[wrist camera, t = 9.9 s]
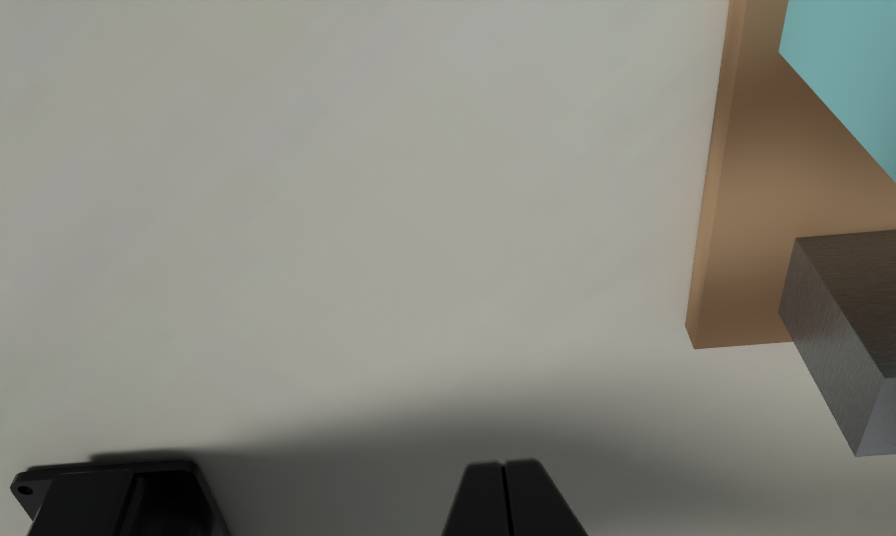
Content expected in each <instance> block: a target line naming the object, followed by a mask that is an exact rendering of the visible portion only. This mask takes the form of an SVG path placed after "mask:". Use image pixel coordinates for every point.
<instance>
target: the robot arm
mask: <svg viewBox="0 0 896 536" xmlns="http://www.w3.org/2000/svg"><path fill="white" fill-rule="evenodd" d="M10 489H11V492H12V493H13V495H14V496H15V497H16V499H17V500H18V501H19V503H20V504H21V506H22V507H23V508H24V510H25V511H26V512H27V514H28V515H29V517H30V518H31V519H32V521H33V522H32V525H31V527H30V529H29V531H28V533H27V535H26V536H230V533H229V531H228V529H227V527H226V525H225V523H224V521H223V518H222V516H221V514H220V512H219V510H218V508H217V505H216V503H215V501H214V499H213V497H212V495H211V492H210V490H209V488H208V486H207V484H206V482H205V479H204V477H203V475H202V473H201V471H200V469H199V467H198V466H197V465H196V464H194V463H193V462H190V461H184V460H178V461H165V462H151V463H138V464H125V465H111V466H98V467H84V468H71V469H57V470H44V471H31V472H22V473H18V474H17V475H16V476H15V478H14V480H13V482H12V484H11V487H10ZM441 536H588V534H587V533H586V531H585V530H584V528H583V527H582V525H581V524H580V522H579V521H578V519H577V517H576V516H575V514H574V513H573V511H572V510H571V508H570V507H569V505H568V504H567V502H566V501H565V499H564V497H563V496H562V494H561V493H560V491H559V490H558V488H557V487H556V485H555V484H554V482H553V481H552V479H551V477H550V476H549V474H548V473H547V471H546V470H545V468H544V467H543V465H542V464H541V463H540V461H539V460H538V459H536V458H533V457H529V458H515V459H507V460H505V461H504V463H503V467H502V464H501V463H500V462H499V461H497V460H488V461H474V462H470V463H468V464H467V466H466V467H465V469H464V472H463V475H462V477H461V480H460V483H459V486H458V489H457V492H456V494H455V497H454V500H453V503H452V506H451V508H450V511H449V514H448V517H447V520H446V523H445V525H444V528H443V531H442V534H441Z"/></svg>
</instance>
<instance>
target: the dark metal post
mask: <svg viewBox="0 0 896 536" xmlns="http://www.w3.org/2000/svg"><path fill="white" fill-rule="evenodd" d="M778 314H779V316H780V318H781V319H782V321H783V323H784V325H785V327H786V329H787V331H788V332H789V334H790V336H791V338H792V340H793V342H794V344H795V346H796V347H797V349H798V351H799V353H800V355H801V357H802V359H803V360H804V362H805V364H806V366H807V368H808V370H809V372H810V373H811V375H812V377H813V379H814V381H815V383H816V385H817V386H818V388H819V390H820V392H821V394H822V396H823V398H824V400H825V401H826V403H827V405H828V407H829V409H830V411H831V413H832V414H833V416H834V418H835V420H836V422H837V424H838V426H839V427H840V429H841V431H842V433H843V435H844V437H845V439H846V441H847V442H848V444H849V446H850V448H851V450H852V452H853V454H854V455H855V457H859V456H872V455H886V454H896V230H884V231H872V232H860V233H848V234H836V235H824V236H812V237H800V238H795V241H794V245H793V250H792V254H791V258H790V262H789V267H788V271H787V275H786V279H785V284H784V288H783V292H782V296H781V301H780V305H779V309H778Z"/></svg>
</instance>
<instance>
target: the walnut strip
mask: <svg viewBox="0 0 896 536" xmlns="http://www.w3.org/2000/svg"><path fill="white" fill-rule="evenodd" d="M788 1H789V0H730V4H729V11H728V18H727V25H726V33H725V40H724V47H723V55H722V62H721V69H720V76H719V84H718V91H717V98H716V105H715V113H714V120H713V127H712V135H711V142H710V149H709V156H708V164H707V171H706V178H705V185H704V193H703V200H702V207H701V214H700V222H699V229H698V236H697V244H696V251H695V258H694V265H693V273H692V280H691V287H690V294H689V302H688V309H687V316H686V324H685V327H686V329H687V332H688V335H689V337H690V340H691V342H692V345H693V347H694V349H703V348H716V347H729V346H742V345H754V344H767V343H780V342H793V340H792V338H791V336H790V334H789V332H788V331H787V329H786V327H785V325H784V323H783V321H782V319H781V318H780V316H779V314H778V309H779V305H780V301H781V296H782V292H783V288H784V284H785V279H786V275H787V271H788V267H789V262H790V258H791V254H792V250H793V245H794V241H795V238H800V237H812V236H824V235H836V234H848V233H860V232H872V231H884V230H896V183H895V182H894V180H893V179H892V178H891V177H890V176H889V175H888V174H887V173H886V172H885V170H884V169H883V168H882V167H881V166H880V165H879V164H878V163H877V161H876V160H875V159H874V158H873V157H872V156H871V155H870V154H869V153H868V151H867V150H866V149H865V148H864V147H863V146H862V145H861V144H860V142H859V141H858V140H857V139H856V138H855V137H854V136H853V135H852V134H851V132H850V131H849V130H848V129H847V128H846V127H845V126H844V125H843V123H842V122H841V121H840V120H839V119H838V118H837V117H836V116H835V115H834V113H833V112H832V111H831V110H830V109H829V108H828V107H827V106H826V104H825V103H824V102H823V101H822V100H821V99H820V98H819V97H818V96H817V94H816V93H815V92H814V91H813V90H812V89H811V88H810V87H809V85H808V84H807V83H806V82H805V81H804V80H803V79H802V78H801V77H800V75H799V74H798V73H797V72H796V71H795V70H794V69H793V68H792V67H791V65H790V64H789V63H788V62H787V61H786V60H785V59H784V58H783V56H782V55H781V54H780V53H779V47H780V42H781V37H782V32H783V27H784V22H785V16H786V11H787V6H788Z"/></svg>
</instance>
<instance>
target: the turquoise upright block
mask: <svg viewBox="0 0 896 536" xmlns="http://www.w3.org/2000/svg"><path fill="white" fill-rule="evenodd" d="M779 53H780V54H781V55H782V56H783V58H784V59H785V60H786V61H787V62H788V63H789V64H790V65H791V67H792V68H793V69H794V70H795V71H796V72H797V73H798V74H799V75H800V77H801V78H802V79H803V80H804V81H805V82H806V83H807V84H808V85H809V87H810V88H811V89H812V90H813V91H814V92H815V93H816V94H817V96H818V97H819V98H820V99H821V100H822V101H823V102H824V103H825V104H826V106H827V107H828V108H829V109H830V110H831V111H832V112H833V113H834V115H835V116H836V117H837V118H838V119H839V120H840V121H841V122H842V123H843V125H844V126H845V127H846V128H847V129H848V130H849V131H850V132H851V134H852V135H853V136H854V137H855V138H856V139H857V140H858V141H859V142H860V144H861V145H862V146H863V147H864V148H865V149H866V150H867V151H868V153H869V154H870V155H871V156H872V157H873V158H874V159H875V160H876V161H877V163H878V164H879V165H880V166H881V167H882V168H883V169H884V170H885V172H886V173H887V174H888V175H889V176H890V177H891V178H892V179H893V180H894V182H895V183H896V0H789V1H788V6H787V11H786V16H785V22H784V27H783V32H782V37H781V42H780V47H779Z"/></svg>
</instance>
